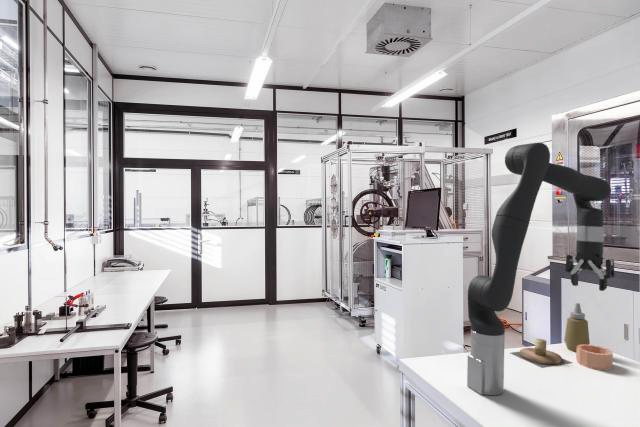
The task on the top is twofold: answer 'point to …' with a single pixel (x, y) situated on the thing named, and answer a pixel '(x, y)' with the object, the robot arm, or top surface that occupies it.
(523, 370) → the top surface
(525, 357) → the lid
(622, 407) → the top surface
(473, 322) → the robot arm
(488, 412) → the top surface
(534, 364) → the mat
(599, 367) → the bowl
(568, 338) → the squeeze bottle
